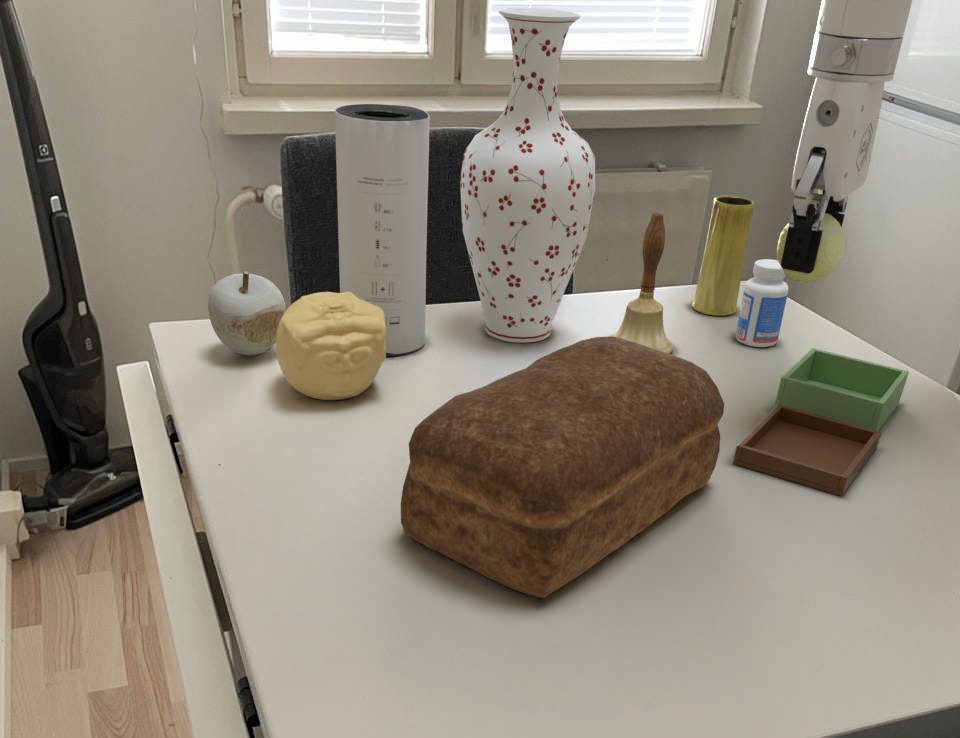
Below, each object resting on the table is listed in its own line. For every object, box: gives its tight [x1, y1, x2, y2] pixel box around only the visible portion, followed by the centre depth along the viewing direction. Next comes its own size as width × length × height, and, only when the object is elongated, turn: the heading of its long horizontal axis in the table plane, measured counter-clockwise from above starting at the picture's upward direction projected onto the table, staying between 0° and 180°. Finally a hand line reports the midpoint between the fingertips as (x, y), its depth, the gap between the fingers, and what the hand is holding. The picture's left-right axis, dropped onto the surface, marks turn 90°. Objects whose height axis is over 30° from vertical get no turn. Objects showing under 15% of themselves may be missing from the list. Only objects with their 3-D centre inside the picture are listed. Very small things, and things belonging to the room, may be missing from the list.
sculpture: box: [275, 291, 387, 401], centre depth 107 cm, size 11×12×11 cm
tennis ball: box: [776, 212, 847, 284], centre depth 99 cm, size 6×7×7 cm
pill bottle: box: [735, 258, 789, 348], centre depth 126 cm, size 6×5×10 cm
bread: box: [400, 335, 725, 599], centre depth 87 cm, size 17×30×13 cm, turn 141°
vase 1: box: [459, 7, 596, 344], centre depth 117 cm, size 16×16×35 cm
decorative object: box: [207, 270, 286, 356], centre depth 115 cm, size 9×9×10 cm
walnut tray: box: [732, 405, 882, 497], centre depth 102 cm, size 11×13×2 cm
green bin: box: [773, 347, 910, 432], centre depth 112 cm, size 11×11×4 cm
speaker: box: [334, 103, 431, 357], centre depth 115 cm, size 11×10×26 cm
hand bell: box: [611, 211, 674, 354], centre depth 120 cm, size 8×8×16 cm
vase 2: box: [691, 195, 755, 317], centre depth 134 cm, size 6×6×14 cm
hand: (808, 259), depth 100 cm, fingers closed on tennis ball, 6 cm apart
